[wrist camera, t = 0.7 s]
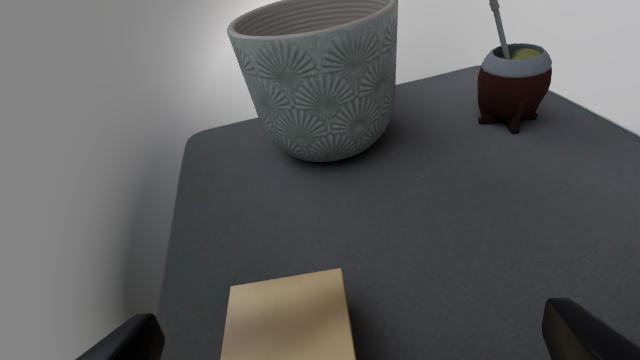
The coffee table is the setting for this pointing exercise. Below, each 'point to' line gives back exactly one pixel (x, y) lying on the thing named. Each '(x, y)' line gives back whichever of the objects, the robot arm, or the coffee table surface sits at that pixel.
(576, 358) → the robot arm
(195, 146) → the coffee table surface
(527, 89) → the mate gourd
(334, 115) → the planter
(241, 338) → the riser block
